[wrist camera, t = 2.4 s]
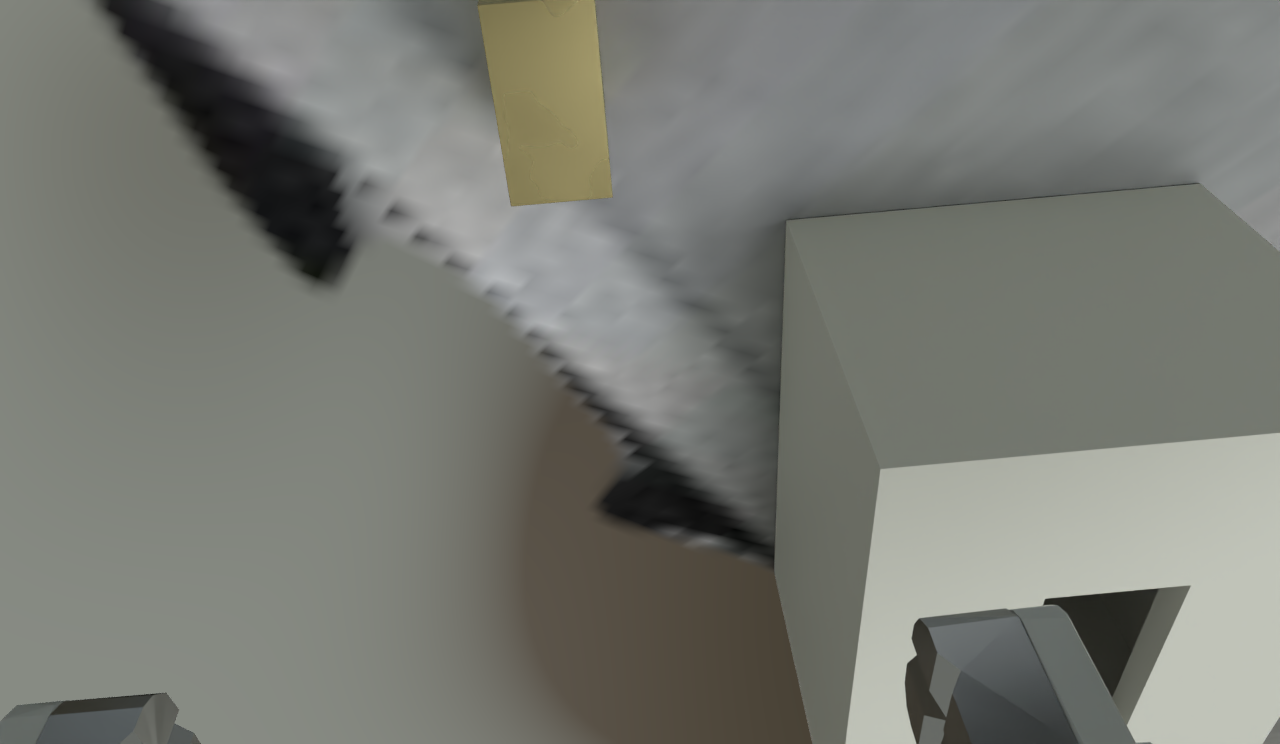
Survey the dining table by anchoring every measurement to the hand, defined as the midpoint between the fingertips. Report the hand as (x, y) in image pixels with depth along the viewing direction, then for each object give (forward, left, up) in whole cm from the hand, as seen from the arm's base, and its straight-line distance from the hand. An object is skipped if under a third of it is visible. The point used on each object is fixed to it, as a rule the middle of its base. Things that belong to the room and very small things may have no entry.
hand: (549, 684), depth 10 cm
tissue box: (+16, +14, -22) cm, 30 cm away
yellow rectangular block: (0, 0, -22) cm, 22 cm away
